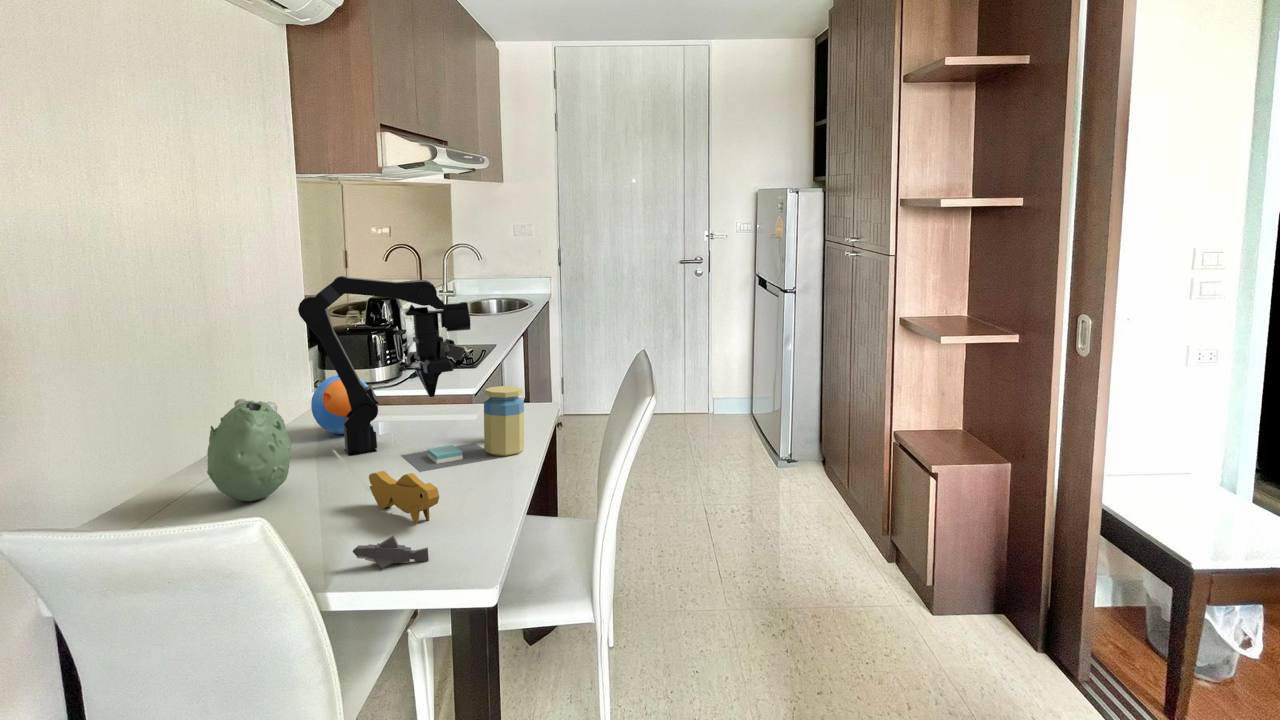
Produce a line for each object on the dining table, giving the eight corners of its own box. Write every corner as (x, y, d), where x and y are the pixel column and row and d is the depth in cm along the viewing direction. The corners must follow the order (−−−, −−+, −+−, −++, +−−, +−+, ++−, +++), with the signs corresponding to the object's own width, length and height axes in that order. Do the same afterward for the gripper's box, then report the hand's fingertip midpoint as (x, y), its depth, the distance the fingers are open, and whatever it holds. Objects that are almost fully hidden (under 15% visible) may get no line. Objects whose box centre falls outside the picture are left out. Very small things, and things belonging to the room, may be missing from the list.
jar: (526, 456, 202) (525, 392, 200) (485, 458, 200) (484, 393, 198) (522, 447, 211) (521, 385, 209) (483, 448, 209) (482, 386, 207)
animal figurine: (428, 563, 146) (432, 534, 145) (426, 574, 141) (430, 544, 141) (353, 558, 144) (356, 528, 143) (349, 568, 139) (352, 538, 139)
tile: (427, 456, 204) (436, 463, 198) (427, 449, 203) (436, 455, 197) (453, 452, 207) (462, 459, 201) (452, 444, 206) (462, 451, 200)
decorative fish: (446, 520, 158) (435, 466, 158) (431, 525, 156) (420, 470, 156) (389, 520, 174) (379, 470, 174) (374, 524, 172) (364, 474, 172)
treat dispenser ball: (373, 423, 240) (369, 367, 237) (379, 436, 226) (374, 377, 223) (313, 430, 234) (307, 373, 232) (315, 443, 220) (309, 383, 218)
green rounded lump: (199, 517, 168) (186, 415, 165) (226, 487, 186) (216, 395, 183) (285, 510, 171) (274, 409, 167) (304, 481, 189) (295, 390, 186)
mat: (420, 473, 192) (419, 471, 192) (400, 456, 206) (400, 455, 205) (498, 459, 201) (498, 458, 200) (474, 444, 214) (474, 443, 214)
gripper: (472, 333, 207) (476, 398, 209) (447, 325, 223) (451, 386, 225) (425, 338, 201) (430, 405, 204) (403, 330, 217) (408, 392, 220)
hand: (431, 396), depth 214 cm, fingers closed
